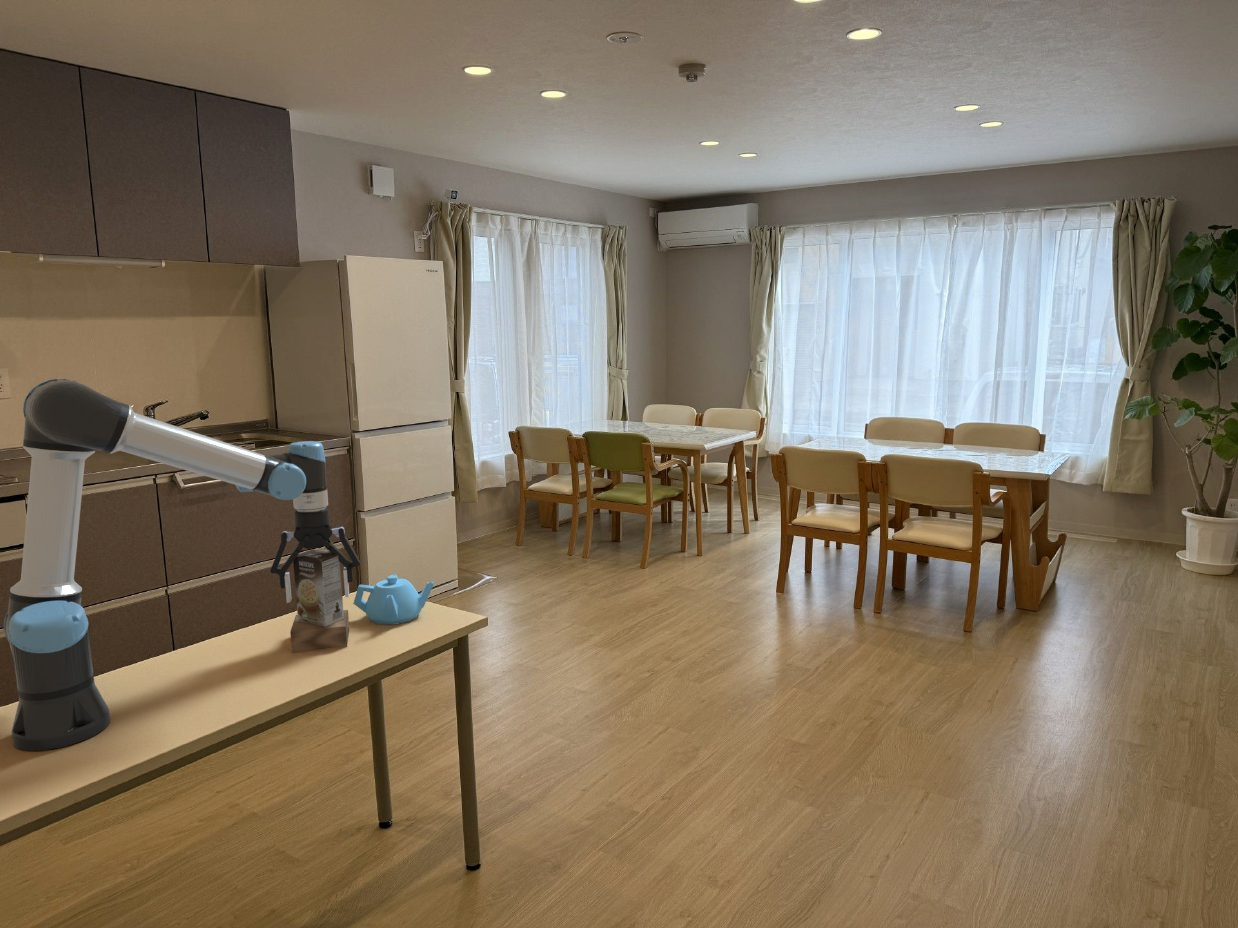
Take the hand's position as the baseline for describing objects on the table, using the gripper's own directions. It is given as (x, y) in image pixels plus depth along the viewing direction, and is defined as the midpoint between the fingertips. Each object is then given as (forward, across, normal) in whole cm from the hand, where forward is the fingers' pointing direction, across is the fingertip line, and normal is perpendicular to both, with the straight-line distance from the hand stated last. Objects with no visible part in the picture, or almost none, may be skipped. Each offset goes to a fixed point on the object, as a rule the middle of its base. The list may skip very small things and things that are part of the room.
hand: (318, 598), depth 198 cm
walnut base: (+10, 0, 0) cm, 10 cm away
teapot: (+11, +17, +12) cm, 23 cm away
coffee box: (+6, 0, 0) cm, 6 cm away
